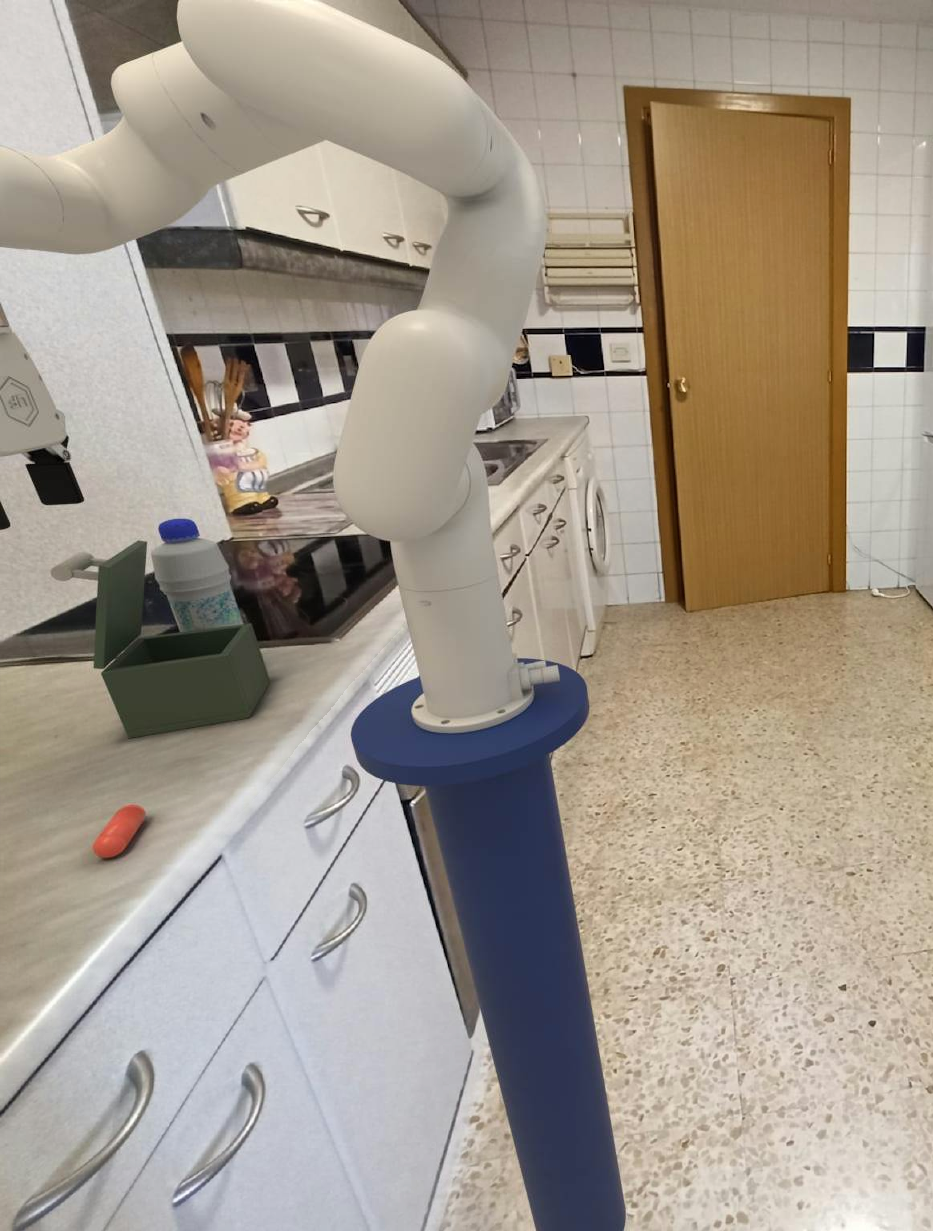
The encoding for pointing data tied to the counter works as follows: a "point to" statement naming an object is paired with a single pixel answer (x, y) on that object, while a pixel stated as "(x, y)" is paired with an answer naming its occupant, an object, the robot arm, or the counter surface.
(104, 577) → the bin lid
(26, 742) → the counter surface
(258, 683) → the bin
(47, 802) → the counter surface
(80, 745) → the counter surface
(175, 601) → the bottle
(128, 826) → the red jelly bean
